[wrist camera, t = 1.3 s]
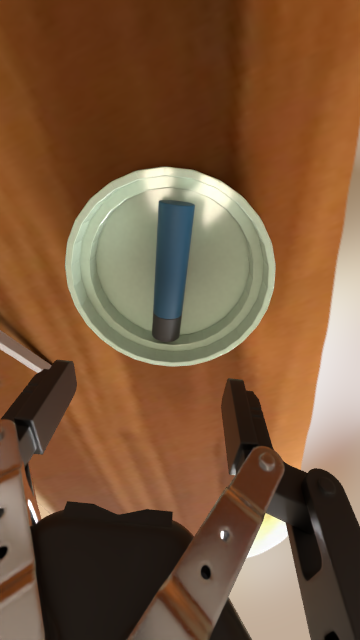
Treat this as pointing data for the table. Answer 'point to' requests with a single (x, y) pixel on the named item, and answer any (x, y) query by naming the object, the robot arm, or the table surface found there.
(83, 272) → the bowl
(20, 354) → the caliper
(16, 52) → the table surface
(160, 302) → the marker
